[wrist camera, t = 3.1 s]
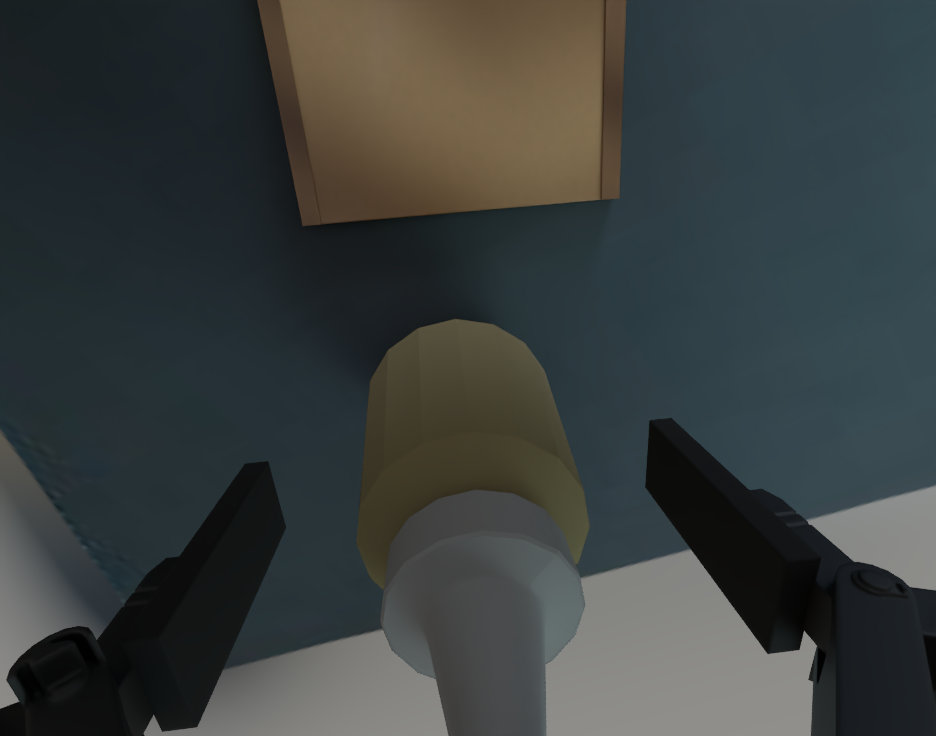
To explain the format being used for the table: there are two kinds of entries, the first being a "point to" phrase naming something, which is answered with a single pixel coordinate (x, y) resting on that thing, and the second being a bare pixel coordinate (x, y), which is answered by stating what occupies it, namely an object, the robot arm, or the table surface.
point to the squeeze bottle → (472, 522)
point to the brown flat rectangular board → (447, 103)
